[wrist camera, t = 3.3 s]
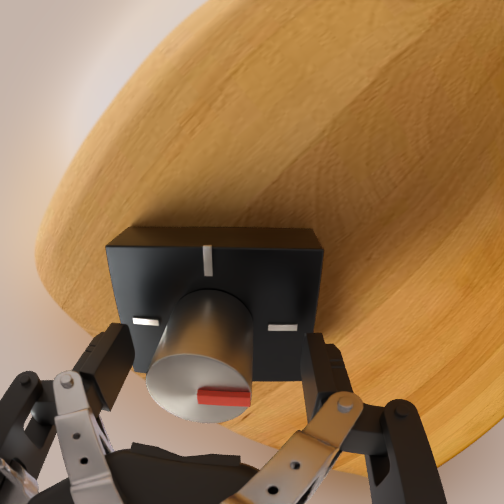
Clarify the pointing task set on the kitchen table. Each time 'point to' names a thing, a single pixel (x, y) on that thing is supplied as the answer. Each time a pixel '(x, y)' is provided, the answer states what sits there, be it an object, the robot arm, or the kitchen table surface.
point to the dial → (204, 359)
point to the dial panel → (221, 285)
